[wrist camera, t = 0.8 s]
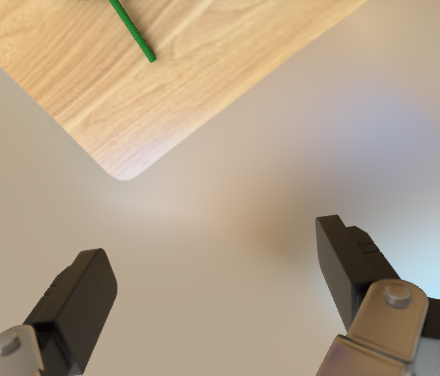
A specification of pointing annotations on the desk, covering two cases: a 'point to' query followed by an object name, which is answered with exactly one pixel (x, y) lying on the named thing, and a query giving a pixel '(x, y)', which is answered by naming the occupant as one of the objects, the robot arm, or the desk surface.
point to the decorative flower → (133, 29)
